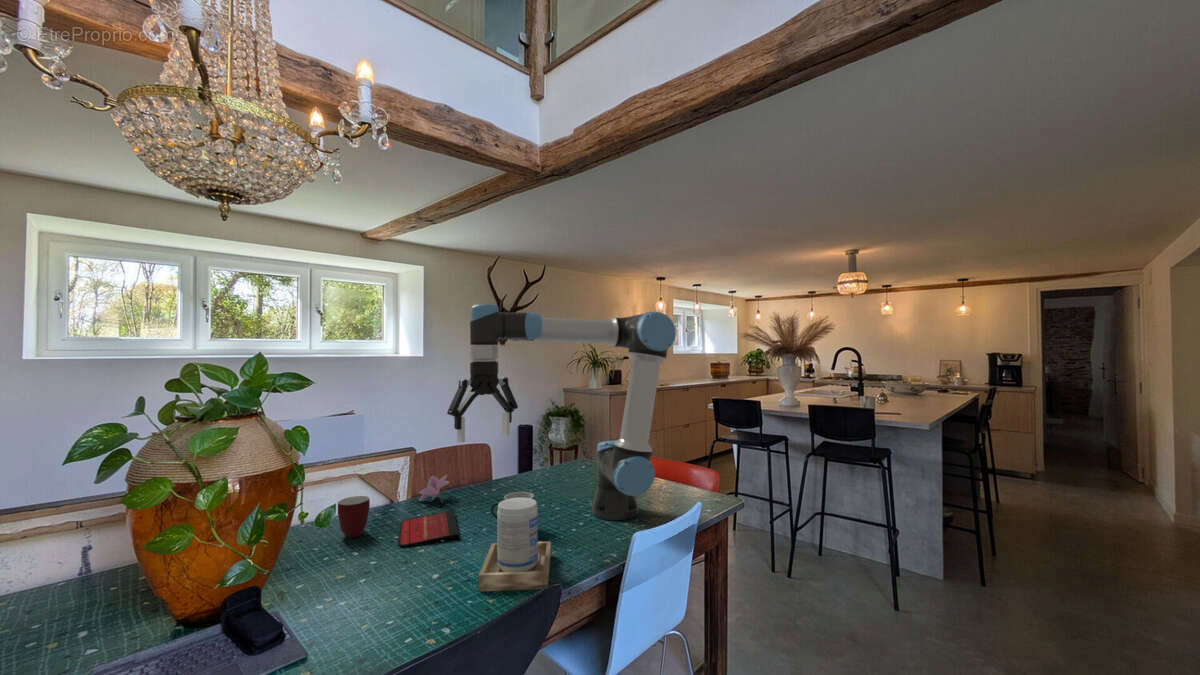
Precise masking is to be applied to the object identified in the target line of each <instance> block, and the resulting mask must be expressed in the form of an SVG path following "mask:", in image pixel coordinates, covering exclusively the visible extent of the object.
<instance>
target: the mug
mask: <svg viewBox="0 0 1200 675" xmlns="http://www.w3.org/2000/svg"><path fill="white" fill-rule="evenodd" d="M370 499H371V498H370V497H369V496H366V495H365V496H364V495H360V496H358V495H356V496H350V497H345V498H343V499H340V500H339V501H338V502H337V516H338V519H339V520H338V521H339V526H340V530H341V532H342V533H343V535H344V537H345V536H346V537H355V538H357V537H356V536H358V537H360V536H362V534H363V533H364V530H365V528H366V526H367V522H368V518H369V513H370V512H369V511H370V506H371V505H370V502H371V501H370ZM359 535H360V536H359ZM346 537H345V538H346Z"/></svg>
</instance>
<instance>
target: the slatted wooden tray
mask: <svg viewBox="0 0 1200 675" xmlns="http://www.w3.org/2000/svg"><path fill="white" fill-rule="evenodd" d="M551 558H552V540H551V541H550V540H549V541H547V540H546V541H538V562H537V564H536V566H535V567H534V568H532V569H531V570H529V571H526V572H504V571H502V570H501V569H500V568H499V567H498V542H492V543H491V544H490V547H489V550H488V552H487V554H486V556H485V559H484V561H483V564H482V566H481V569H480V571H479V574H478V592H479V593H480V592H503V591H506V592H508V591H530V590H531V591H532V590H543V589H542V588H544V587H546V586H548V587H549V578H550V577H549V576H550V569H551V568H550V567H551V560H552V559H551ZM550 559H551V560H550Z"/></svg>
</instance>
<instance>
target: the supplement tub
mask: <svg viewBox="0 0 1200 675" xmlns="http://www.w3.org/2000/svg"><path fill="white" fill-rule="evenodd" d="M498 503H499V504H498V505H497V512H496V513H497V514H496V516H497V518H496V519H497V522H496V523H497V525H496V526H497V530H496V531H497V539H496V540H497V542H496V543H498V567H499V568H500V569H501V570H502V571H504V572H526V571H529V570H531V569H532V568H534V567H535V566H536V564H537V562H538V542H539V541H538V540H539V536H538V535H539V534H538V532H539V531H538V530H539V529H538V528H539V527H538V525H539V522H538V521H539V519H538V518H539V516H538V515H539V514H538V513H539V511H538V510H539V509H538V503H537V500H535V499H531V498H511V499H506V500H504V499H503V500H502V501H499V502H498Z"/></svg>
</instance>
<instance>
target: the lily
mask: <svg viewBox="0 0 1200 675" xmlns="http://www.w3.org/2000/svg"><path fill="white" fill-rule="evenodd" d="M447 477H448V474H445V475H444V476H442V477H441V478H440V479H438V477H436V476H435V475H432V476H430V478H429V479H428V482H427V487H425V488H423V489H422V490H420V491H419V492H418V494H422V495H421V496H420V497H419V499H418V501H420V502H422V501H423V500H424V499H425V498H427V497H429V496H431V497H432V498H434V497H436V498H437V497H439V500H440V501H441V503H442V504H443V503H444V501H443V499H442V497H441V494H440V493H439V492H440V490H441V489H442V487H445V486H447V485H448V484H450V481H448V480H446V478H447ZM421 500H422V501H421Z"/></svg>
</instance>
